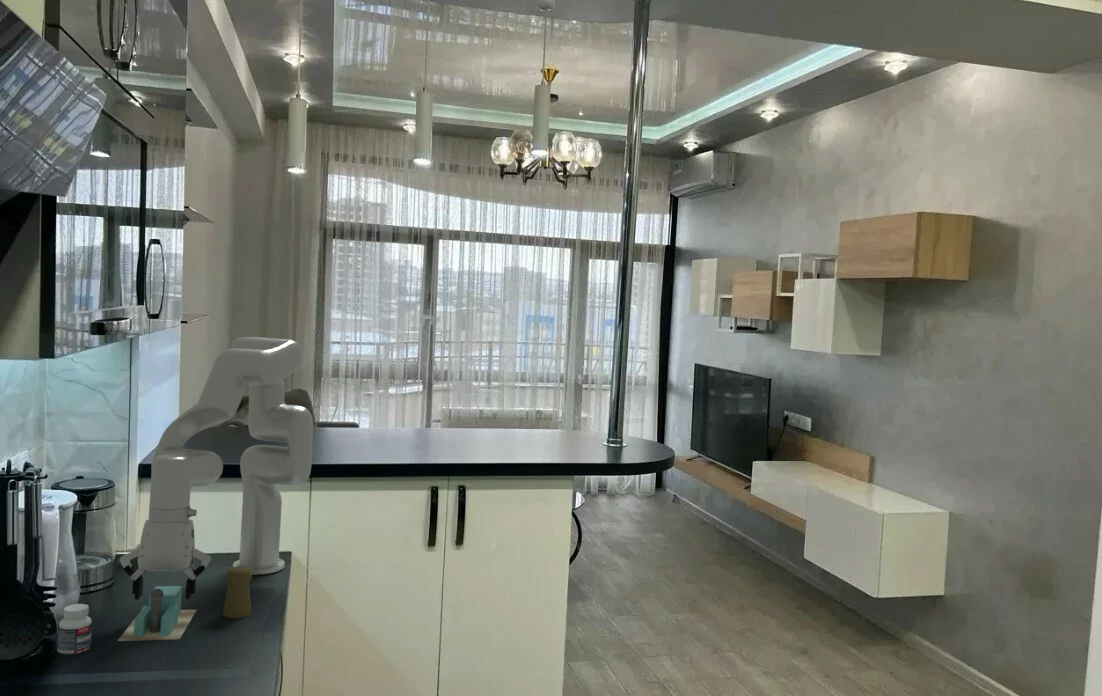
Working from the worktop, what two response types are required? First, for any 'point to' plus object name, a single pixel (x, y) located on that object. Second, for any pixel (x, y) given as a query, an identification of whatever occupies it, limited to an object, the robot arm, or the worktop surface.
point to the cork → (237, 592)
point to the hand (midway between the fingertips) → (163, 597)
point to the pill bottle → (74, 630)
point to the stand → (155, 624)
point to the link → (168, 611)
